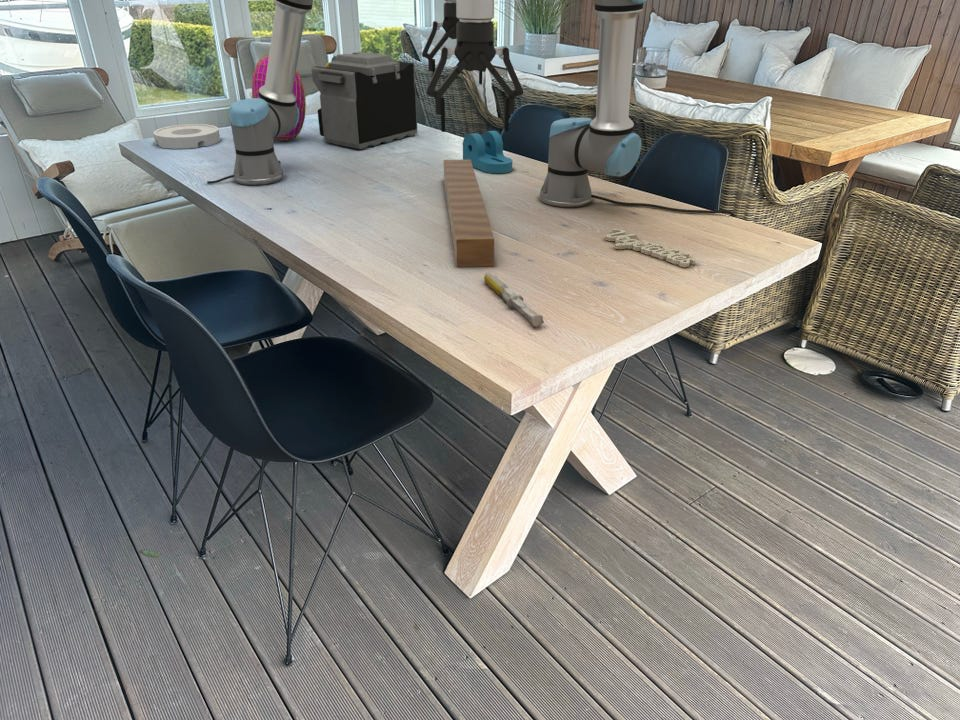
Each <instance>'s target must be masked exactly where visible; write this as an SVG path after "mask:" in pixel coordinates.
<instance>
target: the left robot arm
mask: <svg viewBox="0 0 960 720" xmlns="http://www.w3.org/2000/svg"><path fill="white" fill-rule="evenodd" d="M272 1H273V2H274V4H275V8H274V9H275V10H274V17H273V23H272V24H273V25H272V31H271V39H270V45H269V52H268V55H269V59H268V66H267V74H266V81H265V85H264V86H262V87H261V88H259V94H258V98H252V97H251V98H245V99H240V100H237V101H234V102H233V103H231V104H230V106H229V107H228V113H229V123H230V127H231V134H232V139H233V145H234V149H235V150H234V152H235V160H234V168H233V174H231V175H228V176H224V177H222V178H219V179H216V180H207V181H206V183H207V185H210V184H211V185H212V184H217V183H220V182H223V181H226V180H230V179H232V178H233V180H234V182H235V183H237V184H238V185H243V186H264V185H271V184H276V183H279V182H280V181H282V180H283V179H284V178H285V175H284V170H283V168H282V163H281V161H280V160H278V157H277V155H276V153H275V146H274V140H275V139H274V138H277V137H279V136H281V135H285V134H287V133H289V132H290V131H292V130H293V129H294V128H295V127H296V126H297V124H298V121H299V109H298V108H297V106H296V105H297V104H296V96H295V95H294V93H293V87H294V81H295V75H296V69H297V70H298V62H299V56H300V50H301V45H302V38H303V33H304V32H303V31H304V26H305V19H306V15H307V14H308V13H310V12H311V11H313V10H312V9H313V4H314V0H272ZM444 1H445V2H444V4H443V21H442V22H440V21H436V20H433V22H432V28H431V31H430V34H429V36H428V38H427V40H426V43H425V45H424V47H423V50H422V52H421V56H422V58H425V59H427V61H428V62H427V65H428V66H427V67H428V72H430V73H432V75H433V74H434V72H435V70H436V59H435V58H434V57H435V56H436V55H437V53H438V52H439V51H440V49H442V47H443V45H444V44H445V43H446V42H447V40H449V38H450V39H451V40H457V28H456V24H457V22H459V19H458V18H457V17H456V0H444ZM441 28H442V29H443V30H444V32H445V33H444V34H443V35H442V36H441V38H440V39H439V40H438V42H437V43H436V45H435V46H434V48H432V50H431V51H430V52H429V50H430V48H431V46H432V43H433V42H434V39H435V37H436V34H437V31H440V29H441ZM428 52H429V53H428ZM486 71H487V68H486V69H485V70H483V71H478V84H479V85H483V73H485V72H486Z"/></svg>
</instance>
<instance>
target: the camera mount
mask: <svg viewBox="0 0 960 720" xmlns="http://www.w3.org/2000/svg"><path fill="white" fill-rule="evenodd" d="M462 160H471V162H472V165H473V169H477V170H479V171H482V172H483V173H487V174H505V173H510V172H512V171H513V159H512V158H510V157H508V156H505V155H504V142H503V138H502V135H501V134H500V132H499V131H497V130H488V131H485V132H483V133H482V134H480V133H477V132H474V133H468V134H466V135H465V136H464V137H463V140H462Z"/></svg>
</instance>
